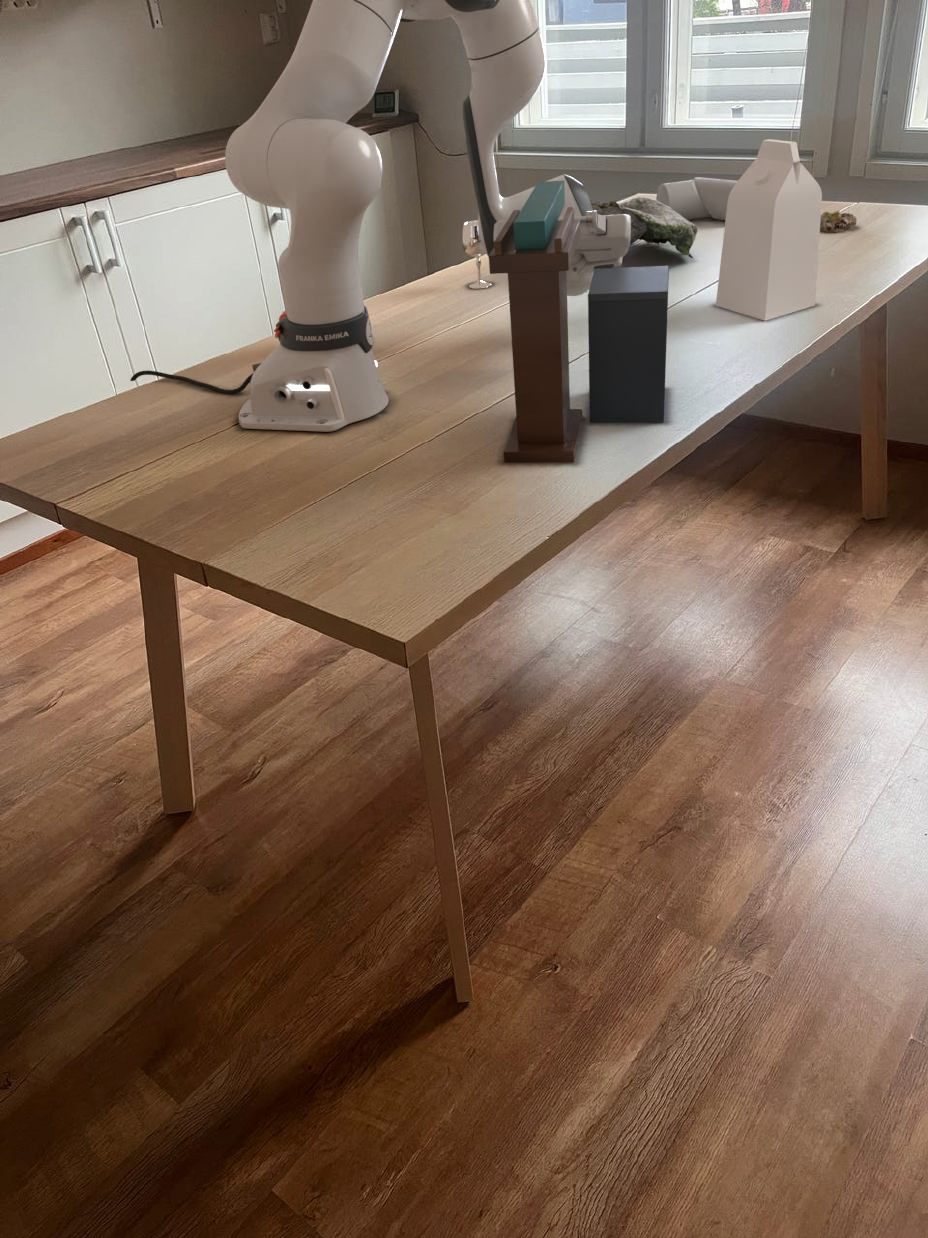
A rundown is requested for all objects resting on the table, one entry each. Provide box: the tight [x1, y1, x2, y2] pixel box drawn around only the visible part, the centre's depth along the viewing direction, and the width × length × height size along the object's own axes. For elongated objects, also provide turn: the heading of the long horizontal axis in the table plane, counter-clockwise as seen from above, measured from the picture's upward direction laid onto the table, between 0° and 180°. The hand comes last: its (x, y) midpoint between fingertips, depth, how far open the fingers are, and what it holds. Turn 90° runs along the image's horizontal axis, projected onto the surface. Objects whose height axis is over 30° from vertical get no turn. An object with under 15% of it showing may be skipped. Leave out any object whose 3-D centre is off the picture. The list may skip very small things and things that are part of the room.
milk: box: [715, 138, 823, 322], centre depth 159 cm, size 12×12×26 cm
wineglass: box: [461, 219, 492, 290], centre depth 189 cm, size 6×6×12 cm
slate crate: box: [587, 265, 670, 424], centre depth 130 cm, size 12×10×18 cm
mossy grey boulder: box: [590, 196, 698, 259], centre depth 196 cm, size 29×30×15 cm
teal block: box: [514, 180, 565, 250], centre depth 117 cm, size 23×4×3 cm, turn 169°
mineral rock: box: [820, 210, 858, 233], centre depth 205 cm, size 11×4×8 cm
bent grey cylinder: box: [655, 176, 738, 221], centre depth 219 cm, size 18×11×20 cm
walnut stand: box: [488, 207, 584, 463], centre depth 120 cm, size 16×9×28 cm, turn 169°
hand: (557, 218), depth 134 cm, fingers open, 8 cm apart
